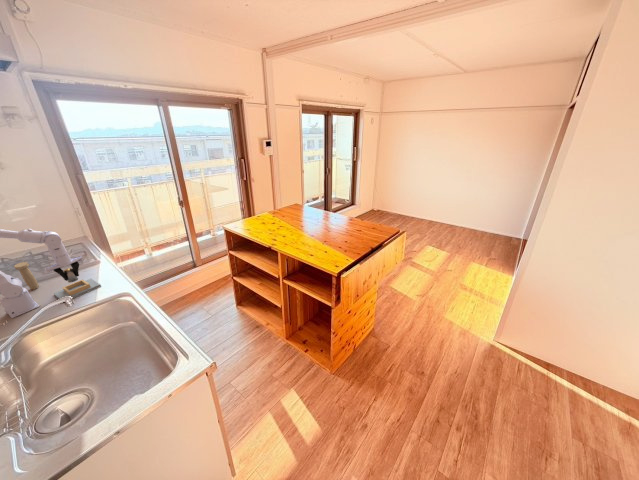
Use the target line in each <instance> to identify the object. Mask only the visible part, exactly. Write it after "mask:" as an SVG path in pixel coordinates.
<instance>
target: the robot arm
mask: <svg viewBox="0 0 639 480" xmlns="http://www.w3.org/2000/svg"><path fill="white" fill-rule="evenodd" d="M1 238H2V239H17V240H18V241H20V242H21V243H30V244H31V243H32V244H44V245H46V246H47V249H48V251H49V253H50V255H51V257H52V259H53V261H54V263H55V264H54V263H53V264H52V265H51V266H47V267H45V268H44V271H45V273H46V274H49V273H50V272H55V273H56V274H58V275H60V276H61V277H62V278H63V280H64V281H67V280H68V279H67V278H66V276H65V274H64V272H63V271H64V270H63V269H62V268H65V267H68V266H71V267H70V268H71V269H73V270H74V272H75V274H76V276H77V277H79V276H80V274H79V267H80V263H79V262H83V261H84V257H83V256H78V257H73V258H71V256H70V255H69V252H68V250H67V249H66V247H65V244H64V243H63V241H62V238H61V236H60V234H59V233H58V232H55V231H52V230H49V231H47V230H43V231H39V230H34V229H33V228H27V229H22V230H19V231H17V230H9V229H4V228H3V229H2V228H0V239H1ZM67 282H68V281H67ZM23 283H24V282H23V280H22V279H20V278H18V277H13V275H10V274H6V273H5V272H3V271H1V270H0V293H1V294H0V295H2V296H3V298H1V299H0V305H1V306H2V308H4V312H5V314H8V316H9V317H10V319H11V318H12V319H13V318H17V317H18V316H20V315H23V314H26V313H28V312H30V311H32V310H35V309H37V308H40V304H38V303H37V302H36V301H35V300H34V299H33V296H31V293H30V291H28V289H27V288H25V287H23V285H24V284H23Z"/></svg>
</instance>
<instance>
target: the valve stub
mask: <svg viewBox="0 0 639 480" xmlns="http://www.w3.org/2000/svg"><path fill="white" fill-rule="evenodd" d="M63 272H64V274H65V276H66V278H67V279H68V280H67V283H68V284H69V283H70V284H72V283H75V282H78V281H79V278H78V276H76V274H75V272H74V270H73V268H72V267H70V268H69V267H68V268H66V269H64V270H63Z"/></svg>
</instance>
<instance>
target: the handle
mask: <svg viewBox="0 0 639 480" xmlns="http://www.w3.org/2000/svg"><path fill="white" fill-rule="evenodd" d="M29 266H30V264H29V263H28V262H27V261H22V262H18V263H16V264H15V265H13V267H14V269H15V270H18V271H19V273H20V275H21V277H22V279H23V281H24V283H26V286H27V287H28V288H29V290H33V291H34V290H36V289H39V287H40V286H39V284H38V283H39V282H38V281H37V279H36V277H35V276H34V274H33V273H32V271H31V270H30V269H29Z"/></svg>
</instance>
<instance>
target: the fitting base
mask: <svg viewBox="0 0 639 480" xmlns="http://www.w3.org/2000/svg"><path fill="white" fill-rule="evenodd" d="M100 286H101V287H102V285H101V284H100V283H99V282H97V281H96V280H95V279H92V278H89V279H88V278H87V279H86V280H84V279H81V280H77V281H74V282H72V283H70V284H68V285H65V286H63V287H62V289H61V290H58V291H56V292H54V293H53V295H54V296H55V297H56V298H57V299H59V298H62V297H65V296H71V297H73V299H76V298H78V297H80V296H82V295H84V294H86V293H89V292H91V291H94V290H96V289H98V288H101V287H100Z"/></svg>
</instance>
